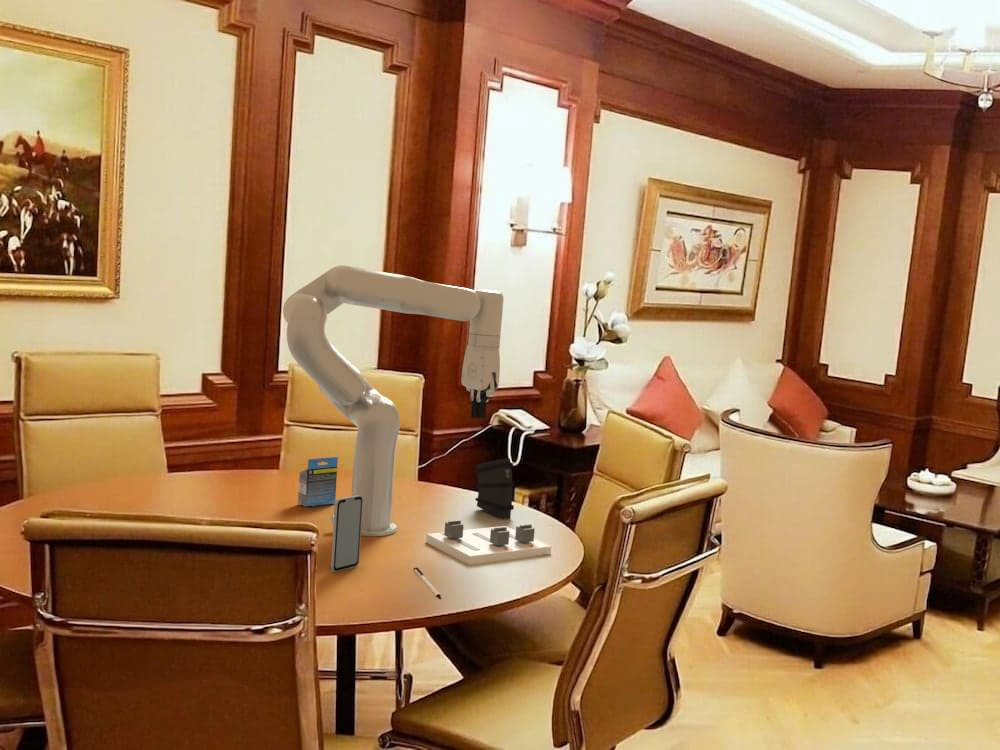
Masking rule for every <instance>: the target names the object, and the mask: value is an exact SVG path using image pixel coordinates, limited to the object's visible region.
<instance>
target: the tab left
mask: <svg viewBox="0 0 1000 750" xmlns="http://www.w3.org/2000/svg"><path fill="white" fill-rule="evenodd" d="M463 530H464V524H463V523H462V520H460V519H457V520H456V519H455V520H448V521H446V522H445V523H444V531H443V532H444V535H445V536H447V537H449V538H451V539H454V538H463Z"/></svg>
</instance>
